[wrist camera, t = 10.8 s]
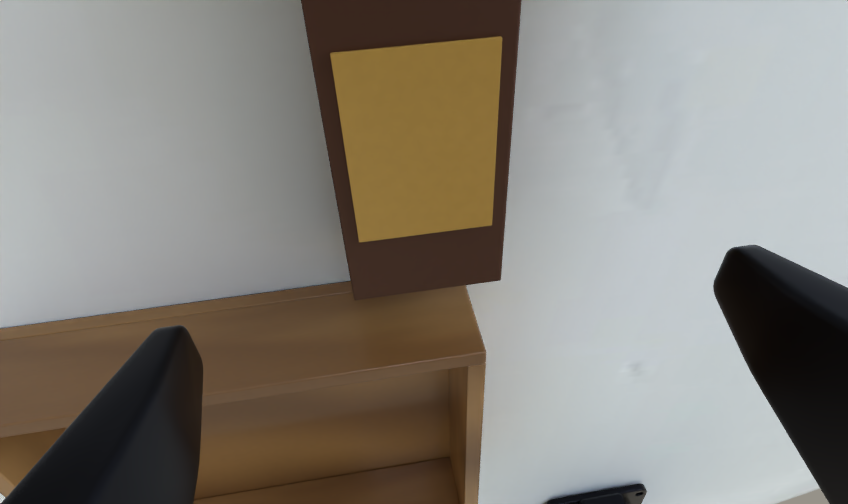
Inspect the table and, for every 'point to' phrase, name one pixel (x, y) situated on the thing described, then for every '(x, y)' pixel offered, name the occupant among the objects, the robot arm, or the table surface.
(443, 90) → the chocolate bar
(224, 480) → the wooden box
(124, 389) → the robot arm
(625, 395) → the table surface
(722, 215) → the table surface
